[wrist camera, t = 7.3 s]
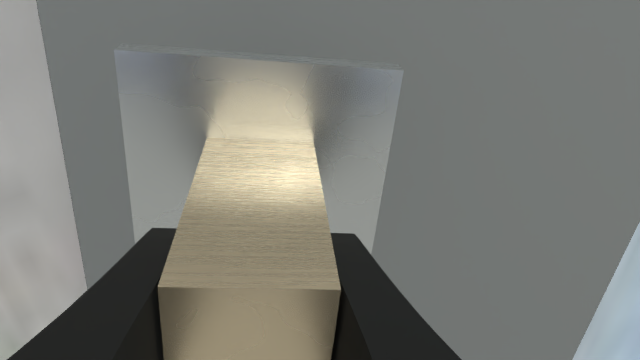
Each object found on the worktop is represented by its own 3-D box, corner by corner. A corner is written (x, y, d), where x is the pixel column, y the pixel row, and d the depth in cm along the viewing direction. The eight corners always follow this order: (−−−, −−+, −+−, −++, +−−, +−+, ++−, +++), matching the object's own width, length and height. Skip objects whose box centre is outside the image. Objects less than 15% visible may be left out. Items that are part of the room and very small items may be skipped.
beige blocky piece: (144, 268, 13) (62, 482, 8) (122, 43, 10) (-28, 153, 5) (361, 272, 13) (412, 471, 8) (397, 63, 11) (503, 177, 6)
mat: (107, 370, 19) (103, 380, 19) (-1, -272, 10) (-14, -281, 10) (557, 368, 22) (563, 377, 21) (804, -153, 12) (823, -156, 12)
